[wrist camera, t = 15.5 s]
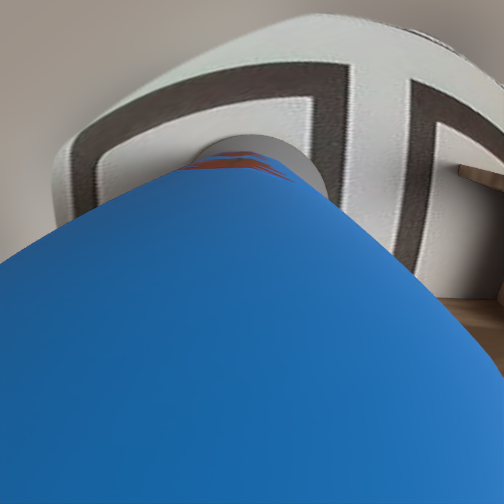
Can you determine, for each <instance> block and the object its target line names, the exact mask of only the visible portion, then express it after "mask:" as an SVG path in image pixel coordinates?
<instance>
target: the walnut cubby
mask: <svg viewBox="0 0 504 504" xmlns="http://www.w3.org/2000/svg"><path fill="white" fill-rule="evenodd" d="M458 176H461V177H463V178H466V179H469V180H472V181H475V182H477V183H480V184H483V185H485V186H488V187H491V188H493V189H496V190H498V191H501V192H503V193H504V175H501V174H498V173H494V172H490V171H486V170H482V169H478V168H474V167H470V166H465V165H461V164H460V168H459V174H458ZM437 299H438V300H439V301H440V302H441V303H442V304H443V305H444V306H445V307H446V309H447V310H448V311H449V312H450V313H451V314H452V315H453V316H454V317H455V318H456V319H457V320H458V321H459V322H460V323H461V325H462V326H463V327H464V328H465V329H466V330H467V331H468V332H469V333H470V335H471V336H472V337H473V338H474V339H475V340H476V341H477V342H478V344H479V345H480V346H481V347H482V348H483V349H484V351H485V352H486V353H487V354H488V355H489V356H490V358H491V359H492V360H493V362H494V364H495V365H496V367H497V369H498V370H499V372H500V374H501V375H502V377H503V379H504V281H503V283H502V286H501V288H500V291H499V294H498V296H497V299H496V300H478V299H454V298H437Z"/></svg>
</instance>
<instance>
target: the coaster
mask: <svg viewBox="0 0 504 504" xmlns="http://www.w3.org/2000/svg"><path fill="white" fill-rule="evenodd" d="M229 151H253V152H255V153H258V154H261V155H264V156H267V157H270V158H272V159H275V160H278V161H279V162H281V163H282V164H283V165H285V166H286V167H287V168H289V169H290V170H291V171H292V172H294V173H295V174H296V175H298V176H299V177H300V178H302V179H303V180H304V181H305V182H307V183H308V184H309V185H311V186H312V187H313V188H314V189H316V190H317V191H318V192H319V193H321V194H322V195H323V196H324V197H326V198H327V199H328V195H327V191H326V187H325V184H324V182H323V179H322V177H321V175H320V173H319V172H318V170H317V169H316V167H315V166H314V164H313V163H312V162H311V161H310V160H309V158H308V157H306V156H305V155H304V154H303V153H302V152H301V151H300V150H298V149H297V148H295V147H294V146H292V145H290V144H288V143H286V142H284V141H282V140H279V139H276V138H273V137H269V136H264V135H240V136H235V137H231V138H228V139H225V140H222V141H220V142H218V143H216V144H214V145H212V146H210V147H209V148H208V149H206V150H205V151H203V152H202V153H201V154H200V155H199V156H198V157H197V158H196V159H195V160H194V161H193V162H192V163H191V164H193V163H195V162H198V161H200V160H203V159H205V158H208V157H210V156H213V155H216V154H218V153H221V152H229Z"/></svg>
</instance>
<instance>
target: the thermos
mask: <svg viewBox="0 0 504 504" xmlns="http://www.w3.org/2000/svg"><path fill="white" fill-rule="evenodd" d="M0 504H504V379H503V377H502V375H501V374H500V372H499V370H498V369H497V367H496V365H495V364H494V362H493V360H492V359H491V358H490V356H489V355H488V354H487V353H486V352H485V351H484V349H483V348H482V347H481V346H480V345H479V344H478V342H477V341H476V340H475V339H474V338H473V337H472V336H471V335H470V333H469V332H468V331H467V330H466V329H465V328H464V327H463V326H462V325H461V323H460V322H459V321H458V320H457V319H456V318H455V317H454V316H453V315H452V314H451V313H450V312H449V311H448V310H447V309H446V307H445V306H444V305H443V304H442V303H441V302H440V301H439V300H438V299H437V298H436V297H435V296H434V295H433V294H432V293H431V292H430V291H429V290H428V289H427V288H426V287H425V286H424V285H423V284H422V283H421V282H420V281H419V280H418V279H417V278H416V277H415V276H414V275H413V274H412V273H411V272H410V271H408V270H407V269H406V268H405V267H404V266H403V265H402V264H401V263H400V262H399V261H398V260H397V259H396V258H395V257H394V256H393V255H391V254H390V253H389V252H388V251H387V250H386V249H385V248H384V247H383V246H382V245H380V244H379V243H378V242H377V241H376V240H375V239H374V238H373V237H372V236H370V235H369V234H368V233H367V232H366V231H365V230H364V229H362V228H361V227H360V226H359V225H358V224H357V223H355V222H354V221H353V220H352V219H351V218H350V217H348V216H347V215H346V214H345V213H344V212H343V211H341V210H340V209H339V208H338V207H337V206H335V205H334V204H333V203H332V202H330V201H329V200H328V199H327V198H326V197H324V196H323V195H322V194H321V193H319V192H318V191H317V190H316V189H314V188H313V187H312V186H311V185H309V184H308V183H307V182H305V181H304V180H303V179H302V178H300V177H299V176H298V175H296V174H295V173H294V172H292V171H291V170H290V169H289V168H287V167H286V166H285V165H283V164H282V163H281V162H279V161H278V160H275V159H272V158H270V157H267V156H264V155H261V154H258V153H255V152H253V151H229V152H221V153H218V154H216V155H213V156H210V157H208V158H205V159H203V160H200V161H198V162H195V163H193V164H190V165H188V166H185V167H183V168H181V169H178V170H176V171H173V172H171V173H169V174H166V175H164V176H162V177H160V178H157V179H155V180H153V181H151V182H148V183H146V184H144V185H142V186H140V187H137V188H135V189H133V190H131V191H129V192H127V193H125V194H123V195H121V196H119V197H116V198H114V199H112V200H110V201H108V202H106V203H104V204H102V205H100V206H98V207H97V208H95V209H93V210H91V211H89V212H87V213H85V214H83V215H81V216H79V217H78V218H76V219H74V220H72V221H70V222H68V223H67V224H65V225H63V226H61V227H60V228H58V229H56V230H54V231H53V232H51V233H49V234H47V235H46V236H44V237H42V238H41V239H39V240H37V241H36V242H34V243H32V244H31V245H29V246H27V247H26V248H24V249H23V250H21V251H20V252H18V253H16V254H15V255H13V256H12V257H10V258H9V259H7V260H6V261H4V262H3V263H1V264H0Z"/></svg>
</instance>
